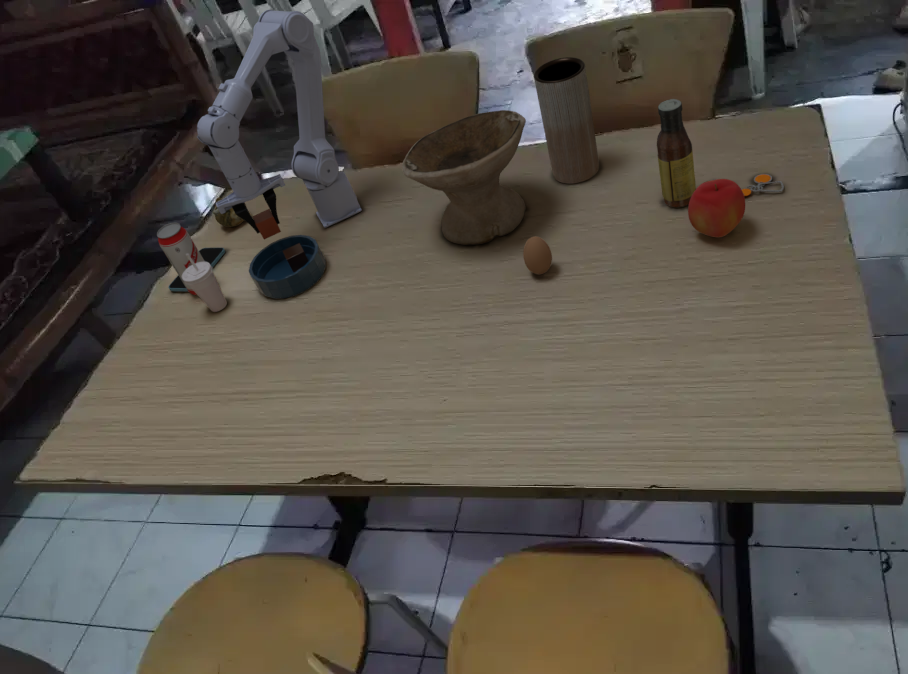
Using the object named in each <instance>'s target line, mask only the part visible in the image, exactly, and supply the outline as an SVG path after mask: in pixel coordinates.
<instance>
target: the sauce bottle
mask: <svg viewBox="0 0 908 674" xmlns="http://www.w3.org/2000/svg"><path fill="white" fill-rule="evenodd" d="M657 111H658V115H659V118H660V119H659V120H660V131H659V133H658V135H657V138H656V149H657V163H658V172H659V178H660V186H661V196H662V198H663V201H664V204H665V205H666V206H668V207H672V208H682V207H687V206H689V202H690V199H691V196H692V194H693V193H694V191H695V190H696V188H697V187H696V186H697V184H696V173H695V162H694V154H693V143H692V141H691V139H690V137H689V135H688V132H687V130H686V128H685V125H684V121H683V113H682V112H683V103H682V101H680V100H679V99H676V98H670V99H667V100H664V101H662V102H660V103H659V104H658V106H657Z"/></svg>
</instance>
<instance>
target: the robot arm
mask: <svg viewBox="0 0 908 674" xmlns="http://www.w3.org/2000/svg"><path fill="white" fill-rule="evenodd" d="M314 29H315V28H314V22H313V21H312V20H310V18H309V17H308V16H306V14H305V13H304V12H301V11H299V10H292V11H290V10H289V11H288V10H274V9H265V10H264V11H263V12H261V14H260V15H259V17H258V20H257V22H255V24H254V26H253V31H252V33H253V34H252V38H251V40H250V42H249V44H248V47H247V49H246V51H245V53H244V56H243V58H242V60H241V62H240V65H239V66H238V69H237V71H236V74H235V75H234V77H233V78H230V79H226V80H225V81H224V82H222V83H220V84H219V86H218V87H217V88H218V90H219V92H218V93H217V95H216V97H215V98H214V99H215V100H214V101H213V103H212V105H211V106H209V107H208V108H207V112H208V113H207V114H204V115H203V116H201V117H200V119H199V120H198V122H197V124H196V132H197V136H196V138H197V139H198V140H199V142H200V143H202V144H204V145H206V146H208V148H209V150H210V152H211V154H212V155H213V157H214V159H215V161H216V162H217V165H218V167H219V168H220V170H221V172H222V174H223V175H224V177H225V179H226V180H227V183H228V185H229V186H230V188H231V190H232V191H233V192H231V193H230V194H228V195H227V196H225V198H224V197H223V198H224V199H222V198H221V199H222V200H220V201H218V202H216V201H215V206H217V208H218V210H219V211H220V213H221V214H223V213H225V212H226V210H229V209H231V208H233V210H234V212H235V214H236V215H237V216H238V217H240V218H242V219H243V220H244V222H246V223H247V224H249V225H250V227H251V228H252V229H253V230H254V231H255V232H256V234H261V233H260V232H259V230H258V228H257V226H256V224H255V222H254V219H253V217H252V216H253V215H252V214H251V213H250V210H249V209H248V207H247V204H246V202H249V201H253V200H254V199H257V198H258V197H260V196H262V197H263V199H264V202H265V203H266V204H267V206H268V209H270V211H271V213H272V215H273V217H274V219H275V221H276V223H277V225H278V226H279V224H281V221H280V219H279V216H278V211H277V210H278V209H277V193H276V192H275V190H276V189H278V188H279V187H280V188H283V187H285V186H286V182H285V181H284V179H283V177H282V175H281V174H280V173H278V174H276V175H273V176H270V177H267V178H261V179H259V177H258V175H257V173H256V171H255V169H254V167H253V165H252V164H251V162H250V159H249V158H248V156H247V154H246V152H245V150H244V148H243V147H242V145H241V143H240V140H239V138H240V125H241V121H242V120H243V117H244V116H245V113H246V111H247V110H248V108H249V106H250V104H251V102H252V100H253V98H254V97H253V93H252V87H253V85H254V84H255V82H256V80H257V79H258V77H259V76H260V74H261V72H262V71H263V69H264V68H265V66H266V65H267V63H268V62H269V60H270V58H271V57H272V56H274V55H276V54H279V53H282V52H284V53H285V55H287V56H288V57H289V58H290V59H291V60H292V61H293V68H294V81H295V93H296V94H295V96H296V108H297V109H296V111H297V122H298V135H299V139H298V140H297V141H296V143H295V144H294V145H293V156H292V159H291V165H290V166H291V170H292V174H293V175H294V176H295V177H296V178H298V179H299V180H302V182H303V184H304V186H305V188H306V189H307V192H308V194H309V196H310V198H311V200H312V202H313V204H314V206H315V208H316V210H317V211H316V212H315V214H316V216H317V218H318V219H319V221H320V222H321V224H322V226H323V228H324V229H326V228H329V227H331V226H333V225H336V224H337V223H339V222H341V221H344V220H345V219H346V220H347V219H348V218H350V217H352V216H354V215H356V214H359V213H360V212H362V211H363V210H362V207H361V205H360V203H359V201H358V197H357V194H356V193H355V191H354V189H353V187H352V185H351V182H350V180H349V178H348V176H347V175H346V173H345V172H344V171H343V170H341V171H340V167H339V163H338V161H337V159H336V153H335V149H334V148H333V146H332V145H331V144H330V143H329V142H328V140H327V139H326V127H325V115H324V114H325V110H324V109H325V108H324V93H323V76H322V75H323V73H322V61H321V60H322V59H321V50H320V47H319V44H318V42H317V40H316V37H315V31H314ZM244 202H245V203H244ZM245 204H246V205H245Z"/></svg>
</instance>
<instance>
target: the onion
mask: <svg viewBox="0 0 908 674" xmlns="http://www.w3.org/2000/svg"><path fill="white" fill-rule="evenodd" d="M225 197H226V196H225ZM225 197H222V198H221V197H220V196H219V197H216V199H215V203H216V202H218V201H220V200H222V199H224V198H225ZM244 203H245V205H246V206H247V204H246V202H244ZM212 214H213V215H214V218H215V221H216V222H217V224H220V226H223V227H225V228H234V227H237V226H239V225H241V224H242V223H243V222H245V220H243V219H242V218H240V217H238V216H237V215H236V214H235V212H234V210H233V208H231V209H229V210H226V212H225V213H223V214H221V213H220V211H219V210H218V208H217V206H216V205H215V207H214V210H213V211H212Z"/></svg>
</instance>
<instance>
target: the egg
mask: <svg viewBox="0 0 908 674" xmlns="http://www.w3.org/2000/svg"><path fill="white" fill-rule="evenodd" d="M522 256H523V257H522V258H523V261H524V264H525V266H526V268H527V270H529V271H530V272H531V273H533V274H535V275H543V274H545V273H547V272H548V271H549V270H550V268H551V265H552V262H553V254H552V251H551V248H550V246H549V244H548V243H547V242H546V241H545V239H543V238H542V237H540V236H538V235H537V236H531V237H529V238H528V239H527V240H526V241H525V243H524V247H523V252H522Z"/></svg>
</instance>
